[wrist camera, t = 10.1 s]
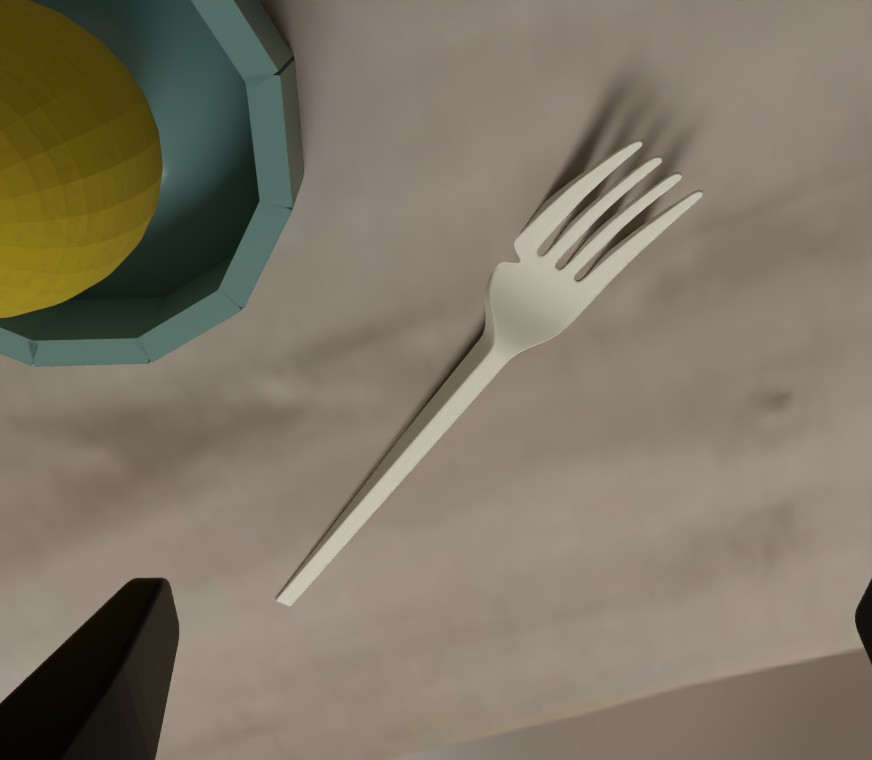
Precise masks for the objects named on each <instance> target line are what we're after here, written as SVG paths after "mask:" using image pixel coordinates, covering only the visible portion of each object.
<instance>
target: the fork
mask: <svg viewBox="0 0 872 760" xmlns="http://www.w3.org/2000/svg"><path fill="white" fill-rule="evenodd" d="M641 146H642V140H635V141H633V142H631V143H629V144H627V145H626V146H624V147H622V148H620V149H619V150H617V151H615V152H614V153H612V154H610V155H609V156H607V157H606V158H604V159H602V160H601V161H599V162H598V163H596V164H595V165H593V166H592V167H590V168H589V169H587V170H586V171H584V172H583V173H581V174H580V175H579V176H577V177H576V178H575V179H573V180H572V181H570V182H569V183H568V184H566V185H565V186H564V187H562V188H561V189H560V190H559V191H557V192H556V193H555V194H554V195H552V196H551V197H550V198H549V199H548V200H547V201H545V202H544V204H543V205H542V206H541V207H540V209H539V210H538V211H537V212H536V214H535V215H534V216H533V218H532V219H531V220H530V221H529V223H528V224H527V225H526V226H525V228H524V229H523V230H522V232H521V233H520V234H519V235H518V237H517V238H516V240H515V242H514V248H515V250H516V252H517V254H518V256H519V258H520V260H521V262H520V263H509V262H502V263H500V264H498V265H497V266H496V268H495V269H494V271H493V273H492V274H491V276H490V279H489V281H488V284H487V287H486V291H485V297H484V307H485V329H484V332H483V335H482V336H481V338H480V339H479V341H478V342H477V343H476V344H475V346H474V347H473V348H472V349H471V351H470V352H469V353H468V354H467V356H466V357H465V358H464V359H463V361H462V362H461V363H460V364H459V366H458V367H457V368H456V369H455V370H454V372H453V373H452V374H451V375H450V377H449V378H448V379H447V380H446V382H445V383H444V384H443V385H442V386H441V388H440V389H439V390H438V391H437V393H436V394H435V395H434V396H433V398H432V399H431V400H430V401H429V403H428V404H427V405H426V406H425V407H424V409H423V410H422V411H421V412H420V414H419V415H418V416H417V417H416V419H415V420H414V421H413V422H412V423H411V425H410V426H409V427H408V428H407V430H406V431H405V432H404V433H403V435H402V436H401V437H400V438H399V440H398V441H397V442H396V444H395V445H394V446H393V448H392V449H391V450H390V451H389V453H388V454H387V455H386V457H385V458H384V459H383V461H382V462H381V463H380V465H379V466H378V467H377V468H376V470H375V471H374V472H373V474H372V475H371V476H370V478H369V479H368V480H367V482H366V483H365V484H364V485H363V487H362V488H361V489H360V491H359V492H358V493H357V495H356V496H355V497H354V499H353V500H352V501H351V502H350V504H349V505H348V506H347V508H346V509H345V510H344V512H343V513H342V514H341V515H340V517H339V518H338V519H337V521H336V522H335V523H334V525H333V526H332V527H331V528H330V530H329V531H328V532H327V534H326V535H325V536H324V537H323V539H322V540H321V541H320V543H319V544H318V545H317V546H316V548H315V549H314V550H313V552H312V553H311V554H310V555H309V557H308V558H307V559H306V561H305V562H304V563H303V564H302V566H301V567H300V568H299V570H298V571H297V572H296V573H295V575H294V576H293V577H292V578H291V580H290V581H289V582H288V584H287V585H286V586H285V587H284V589H283V590H282V591H281V592H280V594H279V595H278V596H277V597H276V599H275V600H276V601H278V602H280V603H283V604H285V605H288V606H291V605H292V604H293V603H294V602H295V601H296V600H297V598H298V597H299V596H300V595H301V594H302V593H303V592H304V591H305V589H306V588H307V587H308V586H309V585H310V584H311V583H312V582H313V580H314V579H315V578H316V577H317V576H318V575H319V574H320V573H321V571H322V570H323V569H324V568H325V567H326V566H327V565H328V564H329V562H330V561H331V560H332V559H333V558H334V557H335V556H336V555H337V553H338V552H339V551H340V550H341V549H342V548H343V547H344V545H345V544H346V543H347V542H348V541H349V540H350V539H351V538H352V536H353V535H354V534H355V533H356V532H357V531H358V530H359V529H360V527H361V526H362V525H363V524H364V523H365V522H366V521H367V520H368V518H369V517H370V516H371V515H372V514H373V513H374V512H375V511H376V509H377V508H378V507H379V506H380V505H381V504H382V503H383V502H384V500H385V499H386V498H387V497H388V496H389V495H390V494H391V493H392V491H393V490H394V489H395V488H396V487H397V486H398V485H399V483H400V482H401V481H402V480H403V479H404V478H405V477H406V476H407V474H408V473H409V472H410V471H411V470H412V469H413V468H414V467H415V465H416V464H417V463H418V462H419V461H420V460H421V459H422V458H423V456H424V455H425V454H426V453H427V452H428V451H429V450H430V449H431V447H432V446H433V445H434V444H435V443H436V442H437V441H438V440H439V438H440V437H441V436H442V435H443V434H444V433H445V432H446V430H447V429H448V428H449V427H450V426H451V425H452V424H453V423H454V421H455V420H456V419H457V418H458V417H459V416H460V415H461V414H462V412H463V411H464V410H465V409H466V408H467V407H468V406H469V405H470V403H471V402H472V401H473V400H474V399H475V398H476V397H477V396H478V394H479V393H480V392H481V391H482V390H483V389H484V388H485V387H486V385H487V384H488V383H489V382H490V381H491V380H492V379H493V378H494V376H495V375H496V374H497V373H498V372H499V371H500V370H501V369H502V367H503V366H504V365H505V364H506V363H507V362H508V361H509V360H510V359H511V358H512V357H514V356H515V355H517V354H518V353H520V352H522V351H524V350H526V349H528V348H530V347H533V346H535V345H537V344H540V343H543V342H545V341H547V340H550V339H552V338H553V337H555V336H557V335H558V334H559V333H561V332H562V331H563V330H564V329H565V328H567V327H568V326H569V325H570V324H571V323H572V322H573V321H574V320H575V319H576V318H577V317H578V316H579V315H580V313H581V312H582V311H583V310H584V309H585V308H586V307H587V306H588V305H589V304H590V303H591V302H592V300H593V299H594V298H595V297H596V296H597V295H598V294H599V293H600V292H601V291H602V290H603V289H604V288H605V287H606V286H607V284H608V283H609V282H610V281H611V280H612V279H613V278H614V277H615V276H616V275H617V274H618V273H619V272H620V271H621V270H622V269H623V268H624V267H625V266H626V265H627V264H628V263H629V262H630V261H631V260H632V259H633V258H634V257H635V256H636V255H638V254H639V253H640V252H641V251H642V250H643V249H644V248H645V247H646V246H647V245H648V244H649V243H651V242H652V241H653V240H654V239H655V238H656V237H657V236H658V235H659V234H660V233H662V232H663V231H664V230H665V229H666V228H667V227H668V226H669V225H670V224H671V223H673V222H674V221H675V220H676V219H677V218H678V217H679V216H681V215H682V214H683V213H684V212H685V211H686V210H687V209H689V208H690V207H691V206H692V205H693V204H694V203H695V202H697V201H698V200H699V199H700V198H701V197H702V196H703V191H702V190H696V191H694V192H692V193H691V194H689V195H687V196H686V197H684V198H683V199H681V200H679V201H678V202H676V203H675V204H673V205H672V206H670V207H669V208H667V209H665V210H664V211H662V212H661V213H659V214H658V215H656V216H655V217H653V218H652V219H650V220H649V221H647V222H646V223H645V224H643V225H642V226H641V227H639V228H638V229H636V230H635V231H634V232H632V233H631V234H630V235H628V236H627V237H626V238H625V239H623V240H622V241H621V242H619V243H618V244H617V245H616V246H614V247H613V248H612V249H610V250H609V251H608V252H607V253H606V254H605V255H604V256H603V257H602V258H601V259H600V260H599V261H598V263H597V264H596V265H595V266H594V267H593V268H592V269H591V270H590V271H589V273H588V274H587V275H586V276H585V277H584V278H583V279H582V280H580V281H576V280H575V279H574V276H575V275H576V273H577V272H578V271H579V270H580V269H581V268H582V267H583V266H584V265H585V264H586V263H587V262H588V261H589V260H590V259H591V258H592V257H593V256H594V255H595V254H596V253H597V252H598V251H599V250H600V249H601V248H602V247H603V246H604V245H606V244H607V243H608V242H609V241H610V240H611V239H612V238H613V237H614V236H615V235H616V234H617V233H618V232H619V231H620V230H621V229H622V228H623V227H624V226H625V225H626V224H627V223H628V222H630V221H631V220H632V219H633V218H634V217H635V216H637V215H638V214H639V213H640V212H641V211H642V210H644V209H645V208H646V207H647V206H648V205H650V204H651V203H652V202H653V201H655V200H656V199H657V198H658V197H660V196H661V195H662V194H663V193H665V192H666V191H667V190H669V189H670V188H671V187H672V186H673V185H675V184H676V183H677V182H678V181H679V180H680V179H681V178H682V174H681V173H680V172H676V173H673V174H671V175H669V176H668V177H666V178H665V179H663V180H661V181H660V182H658V183H657V184H656V185H654V186H653V187H651V188H650V189H648V190H647V191H645V192H644V193H642V194H641V195H640V196H638V197H637V198H635V199H634V200H633V201H631V202H630V203H629V204H627V205H626V206H625V207H623V208H622V209H621V210H620V211H619V212H617V213H616V214H615V215H614V216H612V217H611V218H610V219H609V220H608V221H606V222H605V223H604V224H603V225H602V226H601V227H599V228H598V229H597V230H596V231H595V232H594V233H593V234H592V235H591V236H590V237H589V238H588V239H587V240H586V241H585V242H584V244H583V245H582V246H581V247H580V249H579V250H578V251H577V252H576V253H575V255H574V256H573V257H572V258H571V259H570V261H569V262H568V263H567V264H566V265H565V266H564V267H563V268H562V269H558V268H556V267H555V264H556V262H557V261H558V260H559V259H560V257H561V256H562V255H563V254H564V253H565V252H566V251H567V250H568V249H569V248H570V247H571V246H572V245H573V244H574V243H575V242H576V241H577V240H578V238H579V237H580V236H581V235H582V234H583V233H584V232H585V231H586V230H587V229H588V228H589V227H590V226H591V225H592V224H593V223H594V222H595V221H596V220H597V219H598V218H599V217H600V216H601V215H602V214H603V213H604V212H605V211H606V210H607V209H608V208H609V207H610V206H611V205H613V204H614V203H615V202H616V201H617V200H618V199H619V198H620V197H622V196H623V195H624V194H625V193H626V192H627V191H628V190H629V189H631V188H632V187H633V186H634V185H635V184H636V183H638V182H639V181H640V180H641V179H642V178H644V177H645V176H646V175H647V174H648V173H650V172H651V171H652V170H653V169H654V168H656V167H657V166H658V165H659V164H660V163H661V162H662V157H661V156H654V157H652V158H650V159H648V160H647V161H645V162H644V163H642V164H641V165H640V166H638V167H637V168H635V169H634V170H633V171H631V172H630V173H629V174H627V175H626V176H624V177H623V178H622V179H620V180H619V181H618V182H616V183H615V184H614V185H613V186H611V187H610V188H609V189H608V190H606V191H605V192H604V193H603V194H602V195H600V196H599V197H598V198H597V199H596V200H595V201H593V202H592V203H591V204H590V205H589V206H588V207H586V208H585V209H584V210H583V211H582V212H581V213H580V214H579V215H578V216H577V217H576V218H574V219H573V220H572V221H571V222H570V224H569V225H568V226H567V227H566V229H565V230H564V231H563V232H562V234H561V235H560V236H559V238H558V239H557V240H556V241H555V243H554V244H553V245H552V246H551V248H550V249H549V250H548V251H547V253H545V254H544V255H542V256H541V255H539V254H538V253H537V250H538V248H539V247H540V245H541V244H542V243H543V242H544V241H545V240H546V238H547V237H548V236H549V235H550V234H551V233H552V232H553V231H554V229H555V228H556V227H557V226H558V225H559V224H560V223H561V222H562V221H563V220H564V219H565V218H566V217H567V215H568V214H569V213H570V212H571V211H572V210H573V209H574V208H575V207H576V206H577V205H578V204H579V203H580V202H581V201H582V200H583V199H584V198H585V197H586V196H587V195H588V194H589V193H590V192H591V191H592V190H593V189H594V188H595V187H596V186H597V185H598V184H599V183H600V182H601V181H603V180H604V179H605V178H606V177H607V176H608V175H609V174H610V173H611V172H612V171H613V170H615V169H616V168H617V167H618V166H619V165H620V164H621V163H623V162H624V161H625V160H626V159H627V158H629V157H630V156H631V155H632V154H633V153H634V152H636V151H637V150H638V149H639V148H640V147H641Z"/></svg>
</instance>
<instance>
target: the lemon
mask: <svg viewBox="0 0 872 760" xmlns="http://www.w3.org/2000/svg"><path fill="white" fill-rule="evenodd" d="M162 172H163V163H162V154H161V145H160V136H159V130H158V128H157V125H156V122H155V120H154V117H153V114H152V111H151V109H150V106H149V103H148V101H147V98H146V97H145V95H144V94H143V92H142V91H141V89H140V87H139V86H138V84H137V83H136V81H135V80H134V78H133V76H132V75H131V73H130V72H129V70H128V69H127V67H126V66H125V65H124V64H123V63H122V62H121V61H120V60H119V59H118V58H117V57H116V56H115V55H114V54H113V53H112V52H111V51H110V50H109V49H108V48H107V46H106V45H105V44H104V43H103V42H102V41H101V40H100V39H98V38H97V37H95V36H94V35H92V34H91V33H90V32H88V31H87V30H85V29H84V28H82V27H81V26H79V25H78V24H76V23H75V22H73V21H72V20H70V19H69V18H68V17H66V16H65V15H63V14H62V13H60V12H57V11H55V10H52V9H50V8H47V7H45V6H42V5H40V4H37V3H35V2H32V1H30V0H0V318H8V317H13V316H17V315H20V314H24V313H28V312H32V311H36V310H39V309H43V308H47V307H51V306H54V305H57V304H59V303H62V302H64V301H66V300H68V299H70V298H72V297H74V296H75V295H77V294H79V293H81V292H82V291H84V290H86V289H88V288H89V287H91V286H93V285H94V284H96V283H98V282H100V281H101V280H103V279H104V278H106V277H107V276H108V275H109V274H111V273H112V272H113V271H114V270H115V269H116V268H117V267H118V266H119V265H120V263H121V262H122V261H123V260H124V259H125V258H126V257H127V256H128V255H129V254H130V253H131V252H132V251H133V250H134V248H135V247H136V246H137V245H138V243H139V242H140V241H141V239H142V237H143V235H144V233H145V231H146V229H147V226H148V224H149V222H150V220H151V218H152V216H153V214H154V211H155V209H156V207H157V204H158V200H159V193H160V186H161V179H162Z"/></svg>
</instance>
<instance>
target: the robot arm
mask: <svg viewBox="0 0 872 760" xmlns="http://www.w3.org/2000/svg"><path fill="white" fill-rule="evenodd" d="M855 623H856V627H857V631H858V633H859V636H860V638H861V640H862V643H863V645H864V648H865V650H866V652H867V655H868V657H869V659H870V662H871V664H872V579H871V581H870V583H869V585H868V587H867V589H866V591H865V593H864V595H863V597H862V599H861V601H860V603H859V605H858V607H857V609H856V613H855ZM178 641H179V621H178V617H177V612H176V608H175V604H174V599H173V595H172V590H171V586H170V584H169V582H168V580H167V579H165V578H135V579H132V580H130V581H129V582H127V583H126V584H125V585H124V586H123V587H122V588H121V589H120V590H119V591H118V592H117V593H116V594H115V595H114V596H113V597H111V598H110V599H109V600H108V601H107V602H106V603H105V604H104V605H103V606H102V607H101V608H100V609H99V610H98V611H97V612H96V613H95V614H94V615H93V616H92V617H90V618H89V619H88V620H87V621H86V622H85V623H84V624H83V625H82V626H81V627H80V628H79V629H78V630H77V631H76V632H75V633H74V634H73V635H72V636H70V637H69V638H68V639H67V640H66V641H65V642H64V643H63V644H62V645H61V646H60V647H59V648H58V649H57V650H56V651H55V652H54V653H53V654H52V655H51V656H49V657H48V658H47V659H46V660H45V661H44V662H43V663H42V664H41V665H40V666H39V667H38V668H37V669H36V670H35V671H34V672H33V673H32V674H31V675H30V676H28V677H27V678H26V679H25V680H24V681H23V682H22V683H21V684H20V685H19V686H18V687H17V688H16V689H15V690H14V691H13V692H12V693H11V694H10V695H9V696H7V697H6V698H5V699H4V700H3V701H2V702H1V703H0V760H155V757H156V753H157V748H158V743H159V738H160V733H161V728H162V723H163V718H164V713H165V707H166V702H167V697H168V692H169V687H170V682H171V677H172V672H173V667H174V662H175V657H176V651H177V646H178Z"/></svg>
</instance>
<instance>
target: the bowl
mask: <svg viewBox="0 0 872 760" xmlns="http://www.w3.org/2000/svg"><path fill="white" fill-rule="evenodd" d="M30 1H32V2H35V3H37V4H40V5H42V6H45V7H47V8H50V9H52V10H55V11H57V12H60V13H62V14H63V15H65V16H66V17H68V18H69V19H70V20H72V21H73V22H75V23H76V24H78V25H79V26H81V27H82V28H84V29H85V30H87V31H88V32H90V33H91V34H92V35H94V36H95V37H97V38H98V39H100V40H101V41H102V42H103V43H104V44H105V45H106V46H107V48H108V49H109V50H110V51H111V52H112V53H113V54H114V55H115V56H116V57H117V58H118V59H119V60H120V61H121V62H122V63H123V64H124V65H125V66H126V67H127V69H128V70H129V72H130V73H131V75H132V76H133V78H134V80H135V81H136V83H137V84H138V86H139V87H140V89H141V91H142V92H143V94H144V95H145V97H146V98H147V101H148V103H149V106H150V109H151V111H152V114H153V117H154V120H155V122H156V125H157V128H158V130H159V136H160V145H161V154H162V163H163V172H162V179H161V186H160V193H159V200H158V204H157V207H156V209H155V211H154V214H153V216H152V218H151V220H150V222H149V224H148V226H147V229H146V231H145V233H144V235H143V237H142V239H141V241H140V242H139V243H138V245H137V246H136V247H135V248H134V250H133V251H132V252H131V253H130V254H129V255H128V256H127V257H126V258H125V259H124V260H123V261H122V262H121V263H120V265H119V266H118V267H117V268H116V269H115V270H114V271H113V272H112V273H111V274H109V275H108V276H107V277H106V278H104V279H103V280H101V281H100V282H98V283H96V284H94V285H93V286H91V287H89V288H88V289H86V290H84V291H82V292H81V293H79V294H77V295H75V296H74V297H72V298H70V299H68V300H66V301H64V302H62V303H59V304H57V305H54V306H51V307H47V308H43V309H39V310H36V311H32V312H28V313H24V314H20V315H17V316H13V317H8V318H0V354H3V355H5V356H8V357H10V358H13V359H15V360H18V361H20V362H23V363H25V364H28V365H30V366H32V365H33V363H34V365H35V367H38V366H75V365H112V364H149V363H150V361H151V362H154V361H156V360H158V359H159V358H161V357H163V356H164V355H166V354H168V353H170V352H171V351H173V350H175V349H176V348H178V347H180V346H182V345H183V344H185V343H187V342H188V341H190V340H192V339H194V338H195V337H197V336H199V335H200V334H202V333H204V332H206V331H207V330H209V329H211V328H212V327H214V326H216V325H218V324H219V323H221V322H223V321H224V320H226V319H228V318H230V317H231V316H233V315H235V314H236V313H238V312H240V311H242V308H244V307H245V305H246V303H247V301H248V299H249V297H250V295H251V293H252V291H253V289H254V287H255V284H256V282H257V280H258V278H259V276H260V274H261V272H262V270H263V268H264V266H265V264H266V262H267V260H268V258H269V256H270V254H271V252H272V250H273V248H274V246H275V244H276V242H277V240H278V238H279V236H280V234H281V232H282V230H283V228H284V226H285V224H286V222H287V220H288V218H289V216H290V214H291V212H292V209H293V206H294V203H295V200H296V197H297V194H298V191H299V188H300V185H301V183H302V180H303V177H304V176H303V175H304V166H303V154H302V142H301V130H300V118H299V106H298V94H297V82H296V70H295V59H290V58H291V57H292V56H293V54H292V52H291V51H290V49H289V48H288V46H287V44H286V43H285V41H284V39H283V38H282V36H281V35H280V33H279V31H278V30H277V28H276V26H275V25H274V23H273V22H272V20H271V18H270V17H269V15H268V13H267V12H266V10H265V9H264V7H263V5H262V4H261V2H260V0H30Z"/></svg>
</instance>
